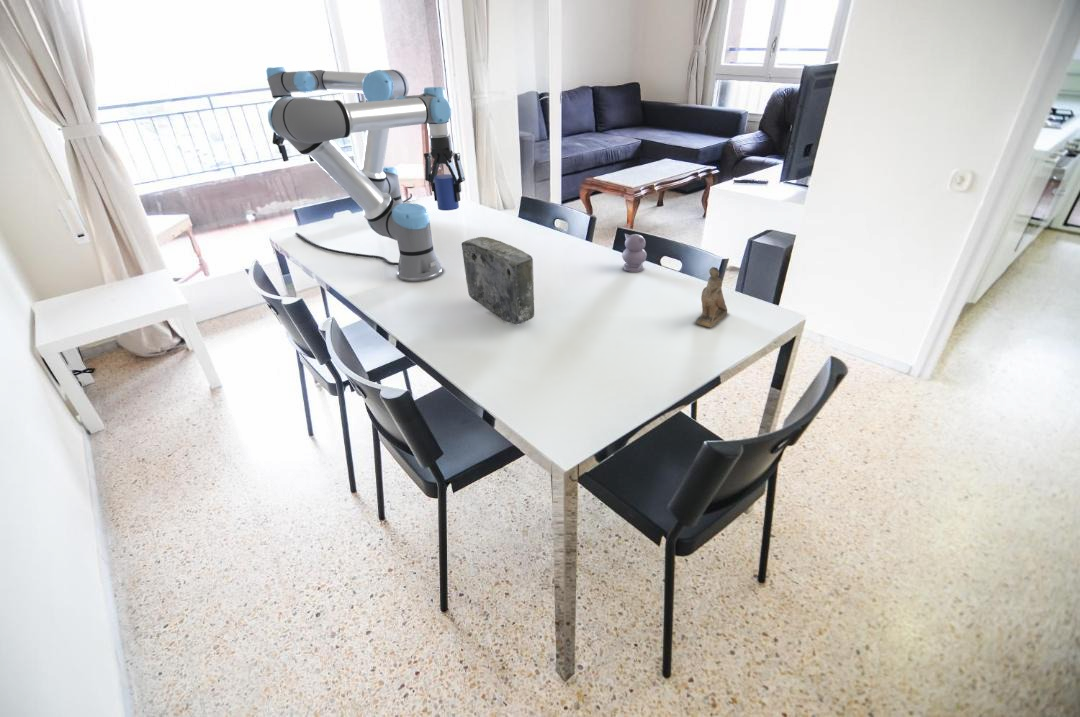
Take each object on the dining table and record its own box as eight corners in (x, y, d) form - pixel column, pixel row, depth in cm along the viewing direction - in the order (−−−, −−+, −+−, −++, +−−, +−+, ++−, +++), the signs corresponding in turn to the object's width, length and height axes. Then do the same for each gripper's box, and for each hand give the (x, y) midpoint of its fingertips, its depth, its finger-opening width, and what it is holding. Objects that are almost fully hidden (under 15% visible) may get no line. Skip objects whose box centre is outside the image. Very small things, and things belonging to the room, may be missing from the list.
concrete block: (541, 325, 139) (539, 257, 129) (515, 335, 135) (510, 265, 124) (492, 295, 158) (486, 233, 147) (468, 303, 153) (460, 240, 143)
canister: (446, 211, 186) (442, 179, 180) (433, 208, 191) (429, 177, 185) (463, 207, 191) (459, 175, 185) (450, 204, 196) (446, 173, 190)
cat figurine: (650, 268, 173) (653, 234, 167) (637, 274, 168) (640, 240, 162) (629, 262, 178) (631, 229, 172) (616, 269, 173) (618, 235, 167)
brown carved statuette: (709, 335, 136) (713, 280, 124) (691, 329, 139) (693, 274, 128) (730, 313, 142) (736, 258, 130) (712, 307, 145) (716, 253, 133)
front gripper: (470, 134, 178) (476, 199, 190) (419, 134, 184) (428, 197, 196) (461, 137, 172) (468, 204, 184) (408, 137, 178) (418, 201, 189)
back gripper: (254, 109, 212) (269, 162, 223) (306, 108, 207) (319, 162, 218) (265, 108, 218) (280, 159, 229) (316, 107, 213) (328, 159, 225)
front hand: (447, 200), depth 190 cm, fingers closed on canister, 8 cm apart
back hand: (299, 161), depth 224 cm, fingers open, 13 cm apart
